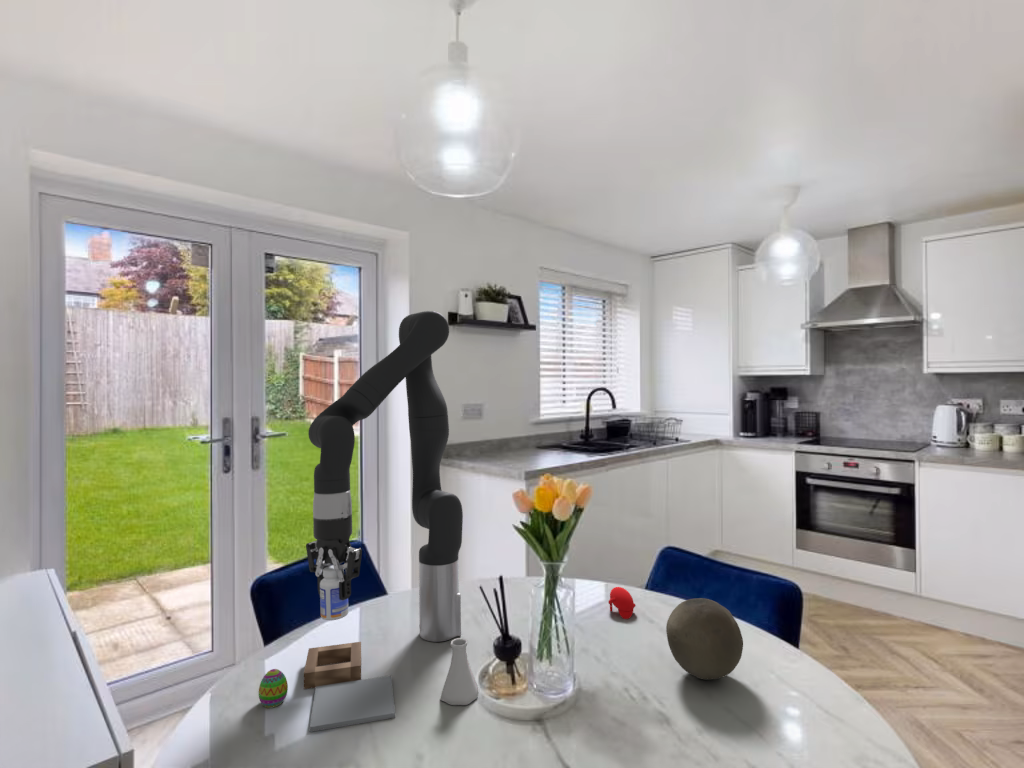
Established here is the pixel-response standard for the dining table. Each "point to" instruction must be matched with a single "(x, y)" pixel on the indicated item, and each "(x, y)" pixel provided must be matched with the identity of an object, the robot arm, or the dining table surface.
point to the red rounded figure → (622, 602)
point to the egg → (273, 688)
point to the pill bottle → (331, 596)
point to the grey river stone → (704, 638)
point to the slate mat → (352, 703)
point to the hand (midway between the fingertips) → (334, 595)
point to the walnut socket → (332, 672)
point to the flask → (459, 677)
